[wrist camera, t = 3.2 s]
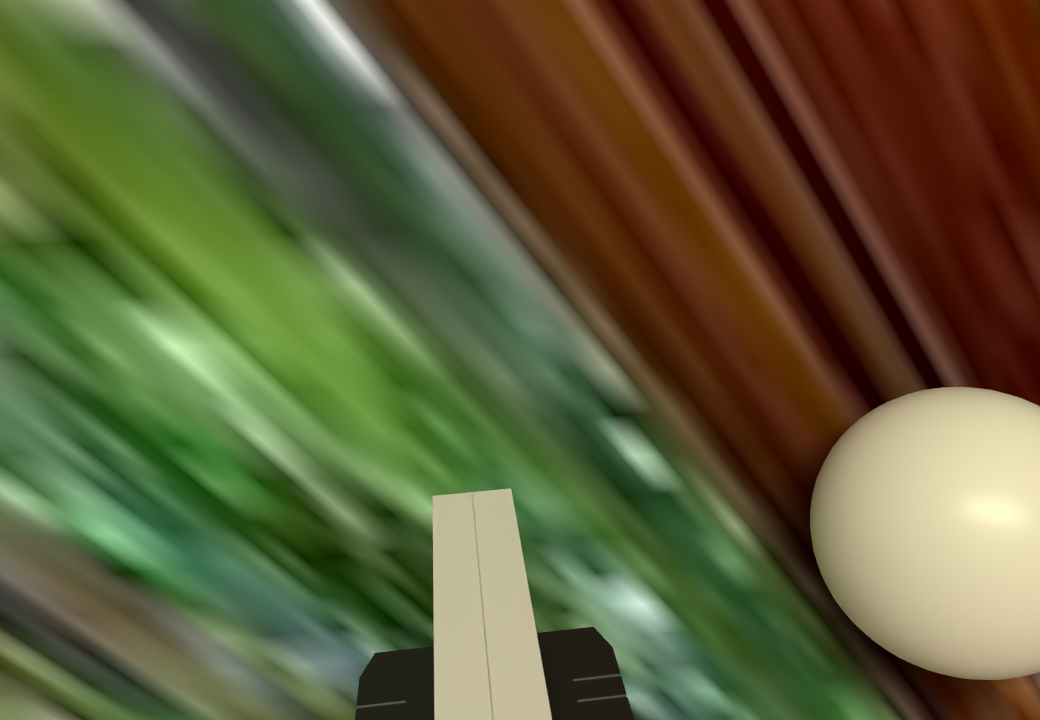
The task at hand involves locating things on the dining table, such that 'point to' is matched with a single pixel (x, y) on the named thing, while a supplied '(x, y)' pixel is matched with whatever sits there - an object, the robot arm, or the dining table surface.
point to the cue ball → (938, 530)
